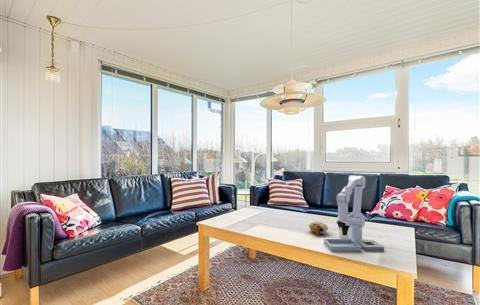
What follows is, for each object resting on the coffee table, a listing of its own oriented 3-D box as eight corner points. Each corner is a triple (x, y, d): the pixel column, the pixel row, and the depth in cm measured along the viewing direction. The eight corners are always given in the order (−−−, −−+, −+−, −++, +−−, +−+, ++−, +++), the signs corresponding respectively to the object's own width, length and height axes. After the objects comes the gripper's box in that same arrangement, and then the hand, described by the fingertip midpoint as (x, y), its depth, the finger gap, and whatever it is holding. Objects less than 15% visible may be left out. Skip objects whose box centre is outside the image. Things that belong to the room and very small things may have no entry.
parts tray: (323, 243, 159) (323, 238, 159) (351, 243, 158) (351, 238, 158) (331, 251, 145) (331, 246, 145) (361, 251, 144) (361, 246, 144)
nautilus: (323, 240, 166) (302, 237, 175) (331, 230, 184) (312, 228, 192) (322, 228, 166) (301, 226, 175) (330, 220, 184) (311, 218, 193)
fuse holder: (355, 243, 157) (355, 240, 157) (373, 244, 157) (373, 240, 157) (364, 251, 145) (364, 246, 145) (384, 251, 145) (384, 247, 145)
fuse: (339, 237, 153) (339, 226, 154) (345, 237, 153) (345, 226, 154) (342, 239, 149) (342, 228, 150) (348, 239, 149) (348, 228, 150)
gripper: (332, 209, 159) (332, 230, 159) (341, 215, 145) (341, 237, 144) (343, 210, 159) (343, 230, 159) (353, 215, 144) (353, 237, 144)
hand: (343, 234), depth 151 cm, fingers closed on fuse, 4 cm apart
